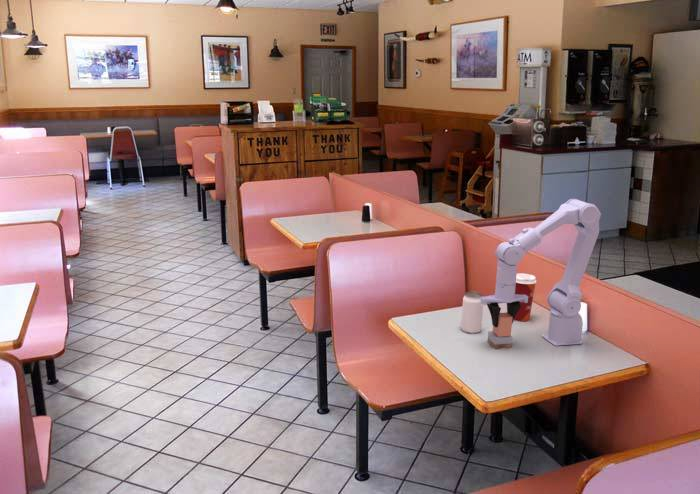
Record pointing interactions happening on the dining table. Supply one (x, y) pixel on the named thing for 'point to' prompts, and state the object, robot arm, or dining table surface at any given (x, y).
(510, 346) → the tower lower
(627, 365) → the dining table surface
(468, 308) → the can
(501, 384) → the dining table surface
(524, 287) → the coffee cup
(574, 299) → the robot arm
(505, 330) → the brick block
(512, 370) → the dining table surface
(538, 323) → the dining table surface
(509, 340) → the tower upper
